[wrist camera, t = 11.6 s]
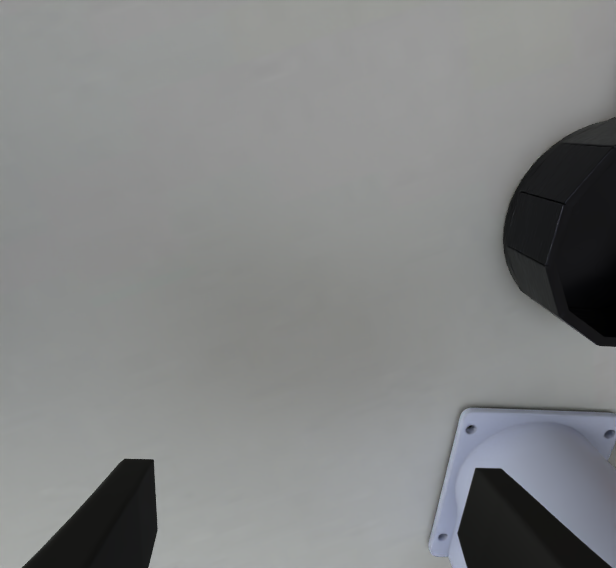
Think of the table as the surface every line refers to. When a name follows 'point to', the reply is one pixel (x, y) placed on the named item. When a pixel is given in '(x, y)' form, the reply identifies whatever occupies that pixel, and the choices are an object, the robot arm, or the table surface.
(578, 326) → the pan
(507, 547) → the robot arm
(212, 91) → the table surface
